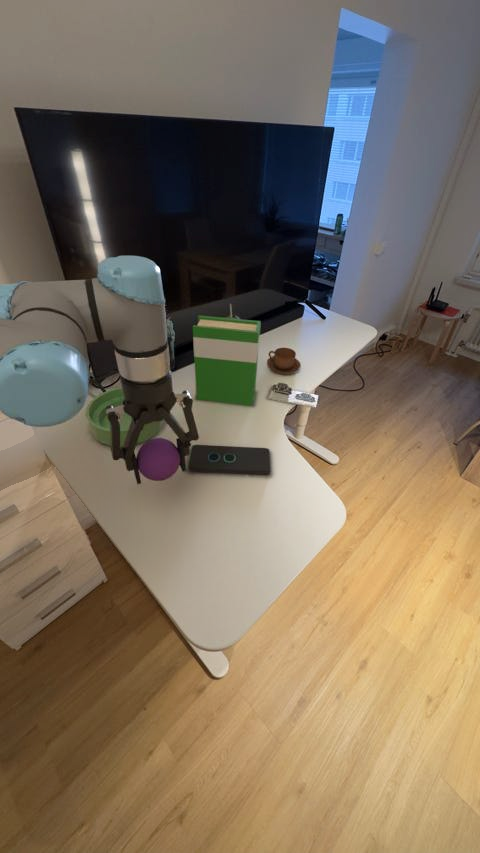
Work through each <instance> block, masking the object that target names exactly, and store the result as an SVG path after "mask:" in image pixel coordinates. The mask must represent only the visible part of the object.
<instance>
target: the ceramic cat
mask: <svg viewBox="0 0 480 853" xmlns="http://www.w3.org/2000/svg"><path fill="white" fill-rule="evenodd" d="M170 318H171V317H169V318H168V319H166V325H167V337H168V347H169V357H170V361H171V362H173V359H174V360H175V349H174V341H175V332H174V330H173V323H172V321H170ZM174 368H175V366H174V367H173V368H170V371H172V370H175V369H174Z"/></svg>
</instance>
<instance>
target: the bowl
mask: <svg viewBox="0 0 480 853" xmlns="http://www.w3.org/2000/svg"><path fill="white" fill-rule="evenodd" d="M123 401H124V394H123V389H122V386H120V387H115V388H111V389H108V390H106V391H104V392H101V393H100V394H98V395H97V396H95V397H94V398H93V399H92V400H90V402H89V403H88V405H87V406H86V408H85V419H86V422H87V425H88V429H89V430H90V433H91V435H92V437H93V438H94V439H95V440H97V441H98V442H99V443H101V444H102V445H106V446H110V447H111V437H110V422H109V420H108V417H107V412H106V407H107V406H109V405H111V406H113V407H117V406H120V405H122V403H123ZM122 416H123V418H122V419H121V421H120V422H119V424H120V448H122V447H123V445H124V442H125V439H126V436H127V432H128V429H129V426H130V423H131V416H130V415H128V414H127V413H124V414H123V415H122ZM164 422H165V421H164V419H163V421H154V422H151V423H149V424H145V425H144V428H143V430H142V431H141V432H140V435H139V438H138V441H137V444H136V445H138V444H141V443H145V442H147V441H148V440H151V439H152V438H154V436H156V434H158V433H159V431H160V430H161V429H162V427H163V423H164ZM121 446H122V447H121Z"/></svg>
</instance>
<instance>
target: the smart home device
mask: <svg viewBox="0 0 480 853" xmlns="http://www.w3.org/2000/svg"><path fill="white" fill-rule="evenodd" d="M189 456H190V457H189V462H188V472H192V473H210V474H211V473H212V474H231V475H251V476H253V475H255V476H269V475H271V474H270V472H271V458H270V448H267V447H253V446H252V447H250V446H231V445H212V444H211V445H209V444H193V445H191V450H190V455H189Z"/></svg>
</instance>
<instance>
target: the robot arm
mask: <svg viewBox="0 0 480 853" xmlns="http://www.w3.org/2000/svg"><path fill="white" fill-rule="evenodd" d="M165 306H166V298H165V295H164V289H163V282H162V274H161V269H160V267H159V266H158V265H157V264H156V263H155V261H153V260H151V259H149V258H147V257H144V256H140V255H118V256H115V257H113V256H112V257H106V258H104V259H102V260H101V261H100V262H99V263H98V265H97V275H96V277H93V278H89V279H88V278H87V279H72V280H71V279H69V280H52V281H51V280H49V281H33V282H32V281H29V280H28V281H27V280H22V281H19V282H15V283H6V284H0V412H1V413H2V414H3V415H4V416H6V417H7V418H9V419H10V420H14V421H17V422H20V423H22V424H23V425H24V426H29V427H35V428H47V427H48V428H49V427H54V426H58V425H61V424H64V423H66V422H68V421H70V420H71V419H73V418H74V417H76V416H77V415H78V414H79V413H80V412H81V411H82V409H83V408H84V405H85V404H86V402H87V399H88V394H89V384H90V379H91V371H90V366H89V357H88V355H89V354H88V344H90V343H99V342H105V341H112V345H113V349H114V355H115V361H116V366H117V370H118V373H119V378H120V379H119V380H120V384H121V387H122V389H123V394H124V401H123V403H122V405H120V406H117V407H113V406H111V405H109V406H107V407H106V412H107V417H108V420H109V422H110V437H111V446H110V452H111V456H112V460H113V461H119V460H120V459H122V460H124V464H125V468H126V471H128V472H131V471H133V473H134V478H135V480H136V484H137V485H141V484H142V479H141V475H140V474H141V473H140V471H139V469H138V464H137V460H136V457H137V455H136V452H135V449H136V446H137V445H138V444H137V441H138V438H139V435H140V432H141V431H142V430H143V428H144V425H145V424H149V423H151V422H154V421H163V420H164V421H163V422H165V424H166V425H167V426H169V427H170V429H171V430H172V431H173V433H174V434H175V436H176V437H177V438H176V439H175V440H176V447H177V448H178V450H179V453H180V465H179V467H180V469H181V472H182V473H185V472H187V465H186V464H187V463H186V457H188V456H190V455H191V449H190V448H192V444H191V442H192V441H194V442H196V441H199V439H200V434H199V432H198V428H197V423H196V420H195V417H194V413H193V410H192V408H193V402H194V400H193V397H192V396H191V394H190V392H189V391H188V390H183V391H182V392H181V393H175V392H174V389H173V379H172V370H170V368H171V367H170V357H169V347H168V337H167V325H166V313H167V311H166V308H165ZM177 403H178V405H179V407H180V408H181V409H182V412H183V416H184V419H185V423H186V426H187V430H188V431H185V430H184V429H183V427H182V426H181V425H180V423H179V422H178V420H177V419H176V417H175V416H174V415H173V414H172V412H171V411H172V409H173V408H174V406H175V405H176V404H177ZM124 413H127V414H128V415H130V416H131V423H130V426H129V429H128V432H127V436H126V439H125V442H124V445H123V447H122V446H121V447H120V424H119V422H120V421H121V419H122V418H123V416H122V415H123V414H124Z"/></svg>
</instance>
